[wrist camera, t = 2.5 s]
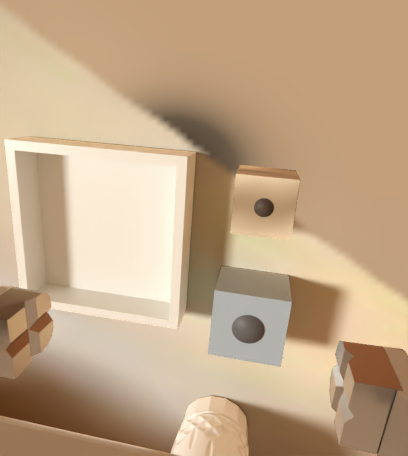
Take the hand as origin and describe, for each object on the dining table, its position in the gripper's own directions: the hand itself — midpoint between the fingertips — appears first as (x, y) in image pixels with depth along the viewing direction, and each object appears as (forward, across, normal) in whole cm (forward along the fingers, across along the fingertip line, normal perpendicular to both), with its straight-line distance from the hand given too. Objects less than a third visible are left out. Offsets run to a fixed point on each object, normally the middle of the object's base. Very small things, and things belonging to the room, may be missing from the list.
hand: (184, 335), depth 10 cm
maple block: (+22, -2, +1) cm, 22 cm away
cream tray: (+21, +12, +5) cm, 25 cm away
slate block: (+22, -2, +11) cm, 24 cm away
